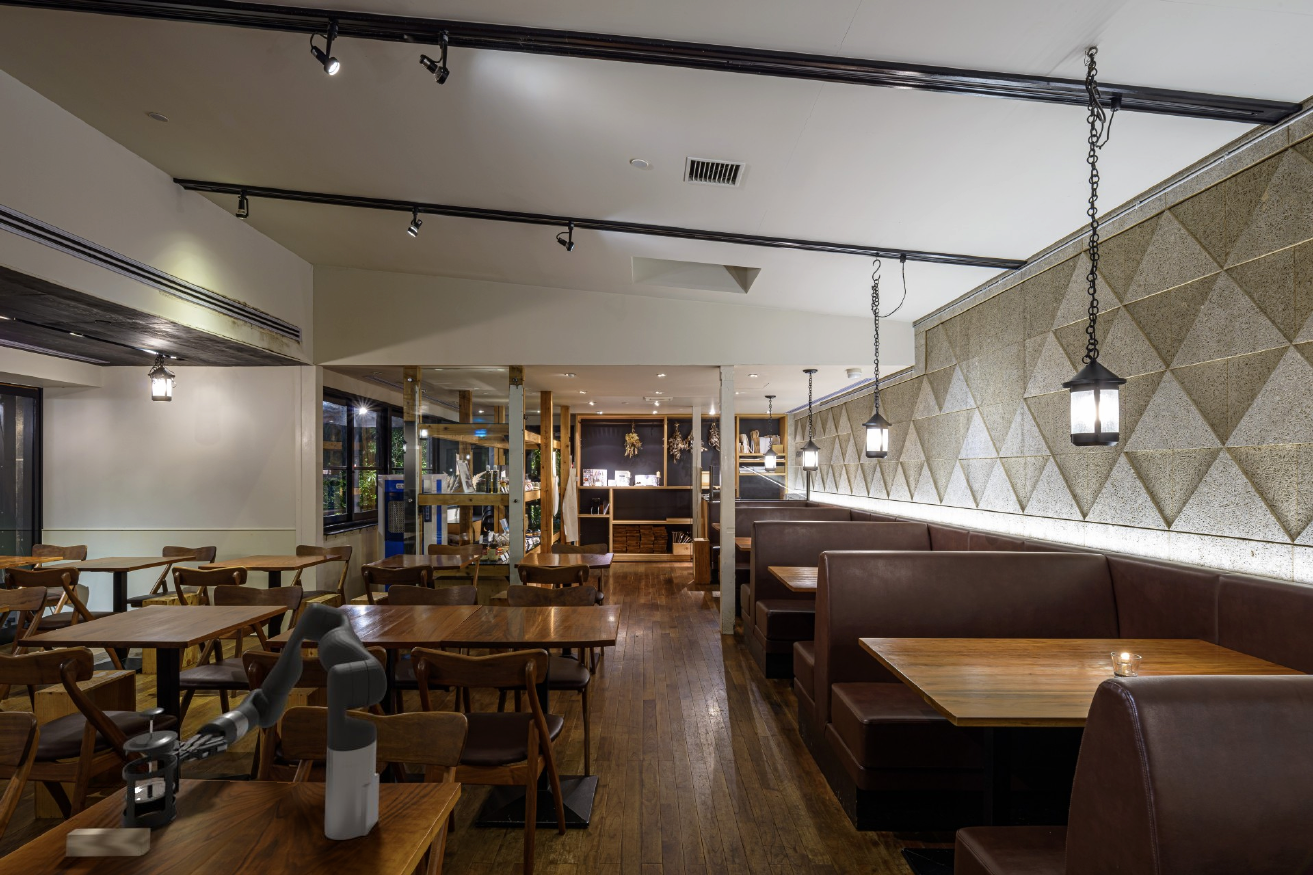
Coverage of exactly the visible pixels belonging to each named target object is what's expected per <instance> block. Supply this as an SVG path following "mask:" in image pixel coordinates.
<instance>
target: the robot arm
mask: <svg viewBox="0 0 1313 875" xmlns="http://www.w3.org/2000/svg"><path fill="white" fill-rule="evenodd" d="M348 614H349V613H347V611H344V610H343V609H341V608H337V607H334V606H331V605H328V604H324V603H319V602H312V603H310V604H309V605H307V607H306V608H305V609H304V610H303V612H302V614H301V615H300V617H299V619H298V620H297V622H296V624H295V626H294V628H293V630H292V632H291V634H290V636H289V638H288V640H287V641H286V643H285V646H284V649H283V650H282V652H281V654H280V656H279V658H278V660H277V662H276V663H275V665H274V666H273V668H272V669H271V670H270V672H269V674H268V675H267V677H265V679H264V681H263V682H262V684H261V688H255V689H253V690H251V691H249V692H248V693H247V694H246V695H245V696H244V698H243V699H242V701H241V702H239V703H240V704H238V705H237V706H236V707H235V708H233V709H231V710H229V711H228V712H225V713H223V714H221V715H219V716H217V717H215V718H213V719H212V720H211V721H209V722H206V723H205V724H203V725H202V726H200V728H199V729H198V730H197V732H196V733H195V735H194V736H192V737H188V738H187V739H186V740H185V741H182V742H181V740H180V741H179V739H176V740H175V747H174V748H173V749H172V750H170V752H171V751H179V752H180V766H182V765H183V764H185V763H186V762H192V761H194V760H196V761H202V760H205V759H208V758H210V757H214V756H218V755H221V754H224V753H227V749H228V748H229V747H230V746H232V745H233V744H235V743H237V742H238V741H239V740H240V739H241V738H242V737H244V736H245V735H247V734H248V733H251V731H253V730H254V729H255V728H256V727H257V726H258V727H260V728H261V729H266V728H267V729H268V728H270V727H273V726H274V725H275V724H277V723H278V721H279V720H280V719H281V717H282V716H283V713H284V711H285V709H286V704H287V701H288V697H289V694H290V693H291V691H292V690H293V689H294V687H295V685H296V684H297V682H298V681H299V680H300V678H301V676H302V672H303V668H304V663H303V656H302V643H303V641H304V640H307V641H311V642H315V643H318V645H317V656H318V659H319V661H320V664H321V665H322V667H323V669H324V670H325V671H326V672H327V677H326V678H327V679H326V700H327V704H326V705H327V733H326V735H327V739H326V740H327V741H326V767H325V768H326V769H325V770H326V774H325V801H324V802H325V803H324V804H325V805H324V808H325V809H324V835H325V836H326V837H327V838H328V839H331V840H337V841H340V840H341V841H344V840H350V839H354V838H357V837H361V836H362V837H363V836H368V834H369V833H370V832H371V831H372V828H374V826H375V825H376V824H377V822H378V820H379V796H380V795H379V794H380V774H379V773H376V768H377V766H376V764H377V732H378V731H377V730H378V729H377V726H376V724H375V723H374V722H372V721H370V720H367V719H360V718H354V717H351V716H349V715H347V712H348V711H352V710H357V709H362V708H369V707H371V706H372V707H373V706H374V705H376V704H378V703H380V702H381V701H382V700H383V699H384V697H385V695H386V693H387V687H388V682H387V681H388V679H387V675H386V672H385V669H384V667H383V665H382V663H381V662H380V660H378V659H377V657H375V656H374V655H373V654H372V653H370V652H369V651H368V650H367V648H366V647H365V646H364V644H363V642H362V640H361V639H360V637H359V635H357V633H356V632H355V630H354V629H353V626H352V623H351V619H350V616H349V615H348Z"/></svg>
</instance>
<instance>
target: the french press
mask: <svg viewBox="0 0 1313 875" xmlns="http://www.w3.org/2000/svg"><path fill="white" fill-rule="evenodd" d="M164 711H165V709H164V708H163V707H151V708H148V709H144V710H142V711H141V712H139V713H138V716H139V717H143V718H144V717H145V718H146V717H148V721H149V722H150V723H149V724H150V726H149V732H146V733H144V734H140V735H136V736H135V737H132V738H130V739H128V740H127V741H126V742H124V743H123V745H122V748H123V750H124V751H125V755H126V756H127V755H128V754H129V753H130V752H132V753H134V752H136V753H140V754H142V755H144V756H143V757H141V758H140V757H139V758H138V759H135V760H133V761H130V762H129V763H127V764H126V765H124V767H123V768H122V779H123V780H125V781H126V793H125V794H124V795H123V798H124V801H125V803H126V807H124V808H123V810H122V811H121V825H120V826H119V829H123V828H150V833H152V832H155V831H158V830H161V829H163V828H165V827H167V826H168V825H170V824H171V823H173V822H174V821H175V820H176V819H177V817H178V810H177V798H176V796H175V795H176V794H178V793H179V792H180V772H181V771H180V769H181V768H180V767H181V765H180V752H179V751H171V750H172V749H173V748H174V747H175V740H178V732H176V731H174V730H159V731H153V721H154V720H155V716H157V715H160V714H162V713H164ZM156 761H157V762H158V761H163V768H160V769H158V770H154V771H152V765H153V764H152V763H154V762H156ZM147 763H149V765H148V769H149V771H148V772H144V773H136V771H137V767H138V766H141V765H144V764H147ZM162 776H163V780H157V781H152V779H154V778H159V777H162ZM147 780H148V782H146V783H143V784H140V785H138V786H136V782H140V781H147ZM155 812H156V813H155ZM150 813H152V814H150ZM153 813H154V814H153ZM147 814H149V815H147ZM144 815H146V816H144Z"/></svg>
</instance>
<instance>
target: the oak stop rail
mask: <svg viewBox="0 0 1313 875" xmlns="http://www.w3.org/2000/svg"><path fill="white" fill-rule="evenodd" d="M150 844H151V832H150V828H123V829H120V828H75V829H74V830H72V831H70V832H69V833H67V834H66V845H65V846H66V847H65V850H66V851H65V857H120V856H121V857H132V856H133V857H137V856H138V857H141V855H142V856H143V855H145V854H146V853H147V852H149V851H150V847H151V845H150Z"/></svg>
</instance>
